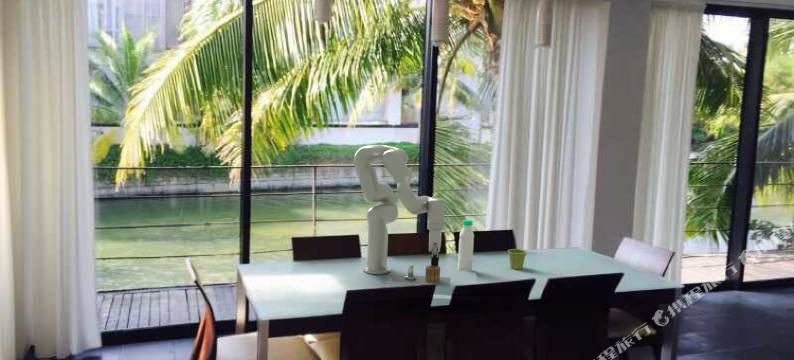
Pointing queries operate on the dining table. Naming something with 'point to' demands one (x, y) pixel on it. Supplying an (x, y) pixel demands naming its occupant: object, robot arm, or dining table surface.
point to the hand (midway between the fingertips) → (434, 263)
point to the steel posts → (410, 273)
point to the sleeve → (432, 273)
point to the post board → (420, 280)
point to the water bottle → (466, 247)
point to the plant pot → (517, 258)
